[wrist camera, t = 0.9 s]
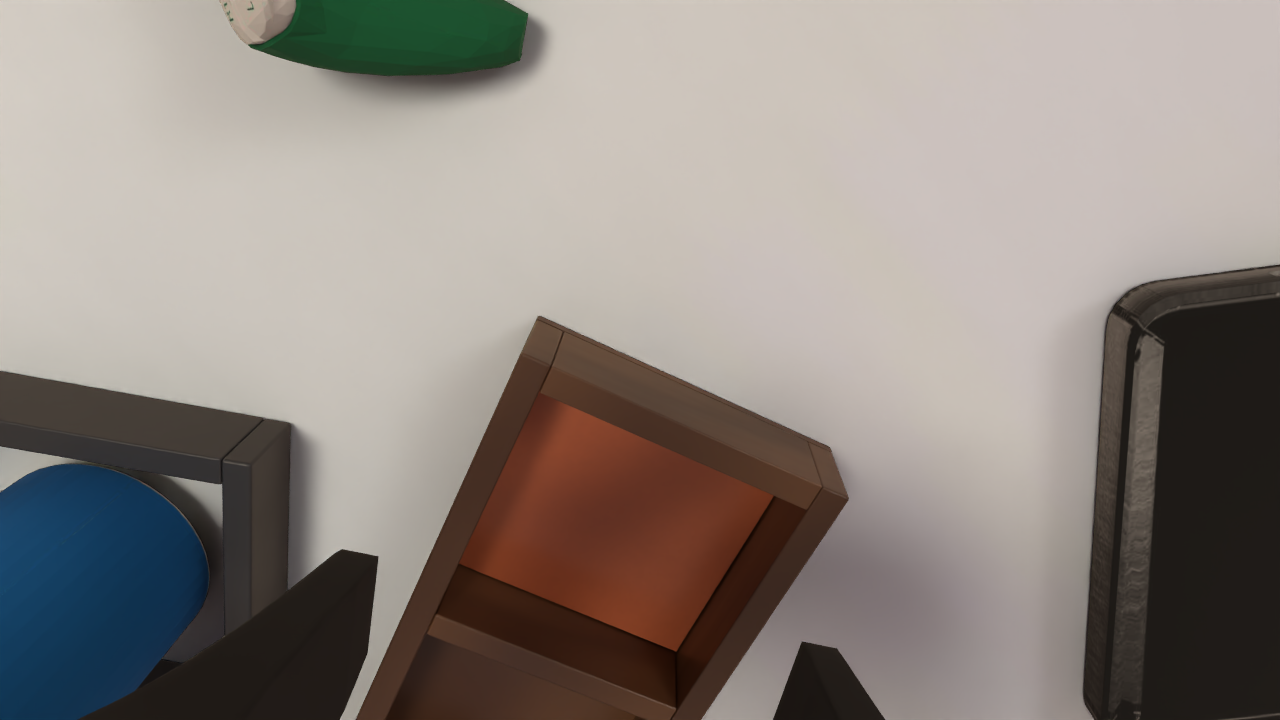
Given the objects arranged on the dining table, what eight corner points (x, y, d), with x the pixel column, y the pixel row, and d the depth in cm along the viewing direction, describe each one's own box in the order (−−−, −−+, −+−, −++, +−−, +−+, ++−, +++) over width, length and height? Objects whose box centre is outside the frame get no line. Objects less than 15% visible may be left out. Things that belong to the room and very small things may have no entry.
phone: (1098, 751, 26) (1131, 300, 20) (1081, 722, 27) (1109, 286, 21) (1366, 729, 25) (1476, 256, 19) (1338, 701, 26) (1435, 244, 20)
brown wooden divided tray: (830, 447, 23) (850, 498, 21) (584, 829, 30) (576, 906, 27) (538, 315, 22) (520, 352, 20) (346, 742, 28) (313, 813, 26)
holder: (285, 698, 28) (250, 758, 25) (-31, 645, 27) (-96, 702, 25) (291, 422, 24) (251, 464, 21) (-78, 356, 23) (-160, 392, 21)
